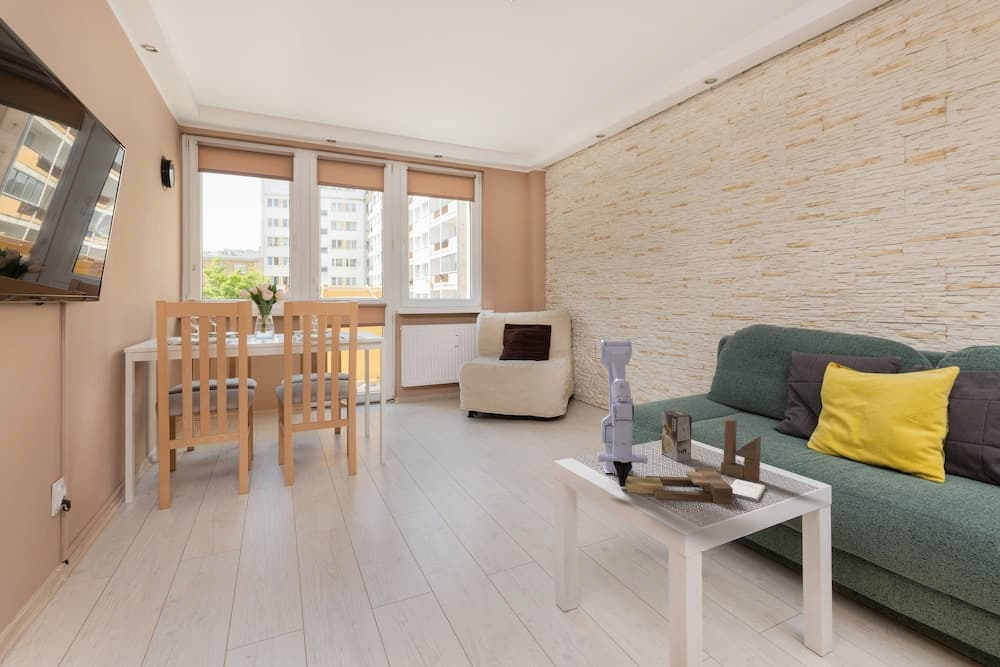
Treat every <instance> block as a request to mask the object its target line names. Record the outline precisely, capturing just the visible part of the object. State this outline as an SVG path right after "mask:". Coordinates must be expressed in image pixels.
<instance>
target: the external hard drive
mask: <svg viewBox="0 0 1000 667" xmlns="http://www.w3.org/2000/svg"><path fill="white" fill-rule="evenodd" d="M730 486H731V487H732V488H733V493H732V498H733V497H734V498H739V499H741V500H742V499H743V500H746V501H749V502H750V501H751V502H755V503H758V501H759V500H760V498H761V497H760V496H762V495H763V493H764V492H763V491H765V490H766V485H764V484H762V483H757V482H751V481H748V480H744V479H742V480H741V479H739V478H737V479H735V480H734V481H733V483H732V484H730ZM764 489H765V490H764ZM762 492H763V493H762ZM761 494H762V495H761ZM758 499H759V500H758Z"/></svg>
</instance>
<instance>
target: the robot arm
mask: <svg viewBox="0 0 1000 667" xmlns="http://www.w3.org/2000/svg"><path fill="white" fill-rule="evenodd" d="M632 346H633V345H632V341H631V340H630V339H602V340H601V341H600V361H601V365H603V366H605V367H606V370H607V374H608V378H607V379H608V413H609V414H608V415H606V416H605V417H603V419H601V422H600V424H601V425H600V441H601V443H602V444H604V453H597V463H605V467H604V466H602V468H604V469H603V471H605V472H604V474H605V473H613V474H612V475H617V478H618V486H619V487H622V488H626V479H627V477H628V476H629V475H628V474H631V473H630V472H631V470H632V469H633V464H639V463H640V464H644V465H648V460H649V459H648V456H647V455H642V454H636V453H635V454H634V453H633V429H634V428H633V422H634V421H635V418H636V409H635V403H634V400H633V398H632V392H631V385H630V382H629V381H627V380H626V366H628V365H629V363H630V360H631V356H632V354H633V353H632V352H633V347H632ZM614 473H615V474H614Z"/></svg>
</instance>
